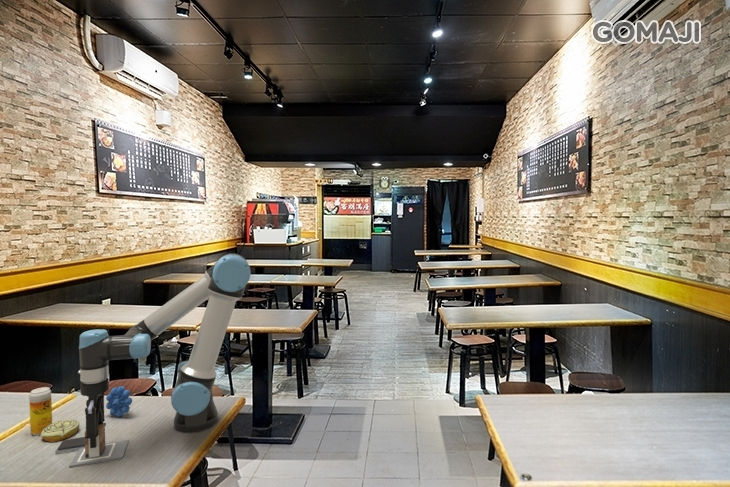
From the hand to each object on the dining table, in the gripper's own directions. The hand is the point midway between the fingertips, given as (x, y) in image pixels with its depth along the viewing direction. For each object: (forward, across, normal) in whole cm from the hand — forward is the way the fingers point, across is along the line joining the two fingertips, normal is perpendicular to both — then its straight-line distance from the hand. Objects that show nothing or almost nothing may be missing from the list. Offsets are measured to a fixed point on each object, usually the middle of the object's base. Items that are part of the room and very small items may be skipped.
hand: (96, 452), depth 132 cm
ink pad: (+1, -8, -8) cm, 12 cm away
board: (+1, 0, +1) cm, 1 cm away
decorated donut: (+2, -20, -15) cm, 25 cm away
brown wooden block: (0, 0, 0) cm, 0 cm away
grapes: (+1, -28, +2) cm, 29 cm away
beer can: (+1, -24, -22) cm, 33 cm away
